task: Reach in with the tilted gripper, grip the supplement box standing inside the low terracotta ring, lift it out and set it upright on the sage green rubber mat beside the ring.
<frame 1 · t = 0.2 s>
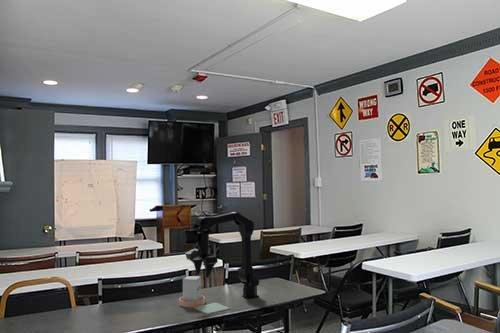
hand: (202, 276, 195), 15 cm above the table, tool pointing down, fingers open, 9 cm apart
terracotta ring: (192, 303, 200), on the table
sage mat: (211, 308, 191), on the table
supplement box: (192, 303, 200), resting in terracotta ring
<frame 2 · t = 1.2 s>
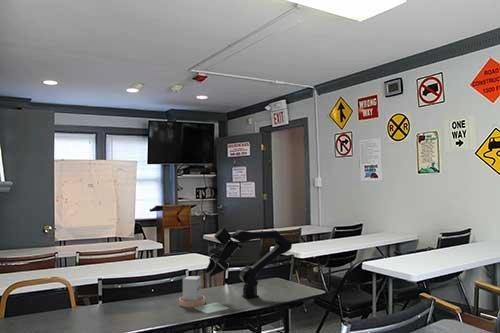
hand: (207, 274, 204), 13 cm above the table, tool tilted 45°, fingers open, 9 cm apart
nothing on the table moved.
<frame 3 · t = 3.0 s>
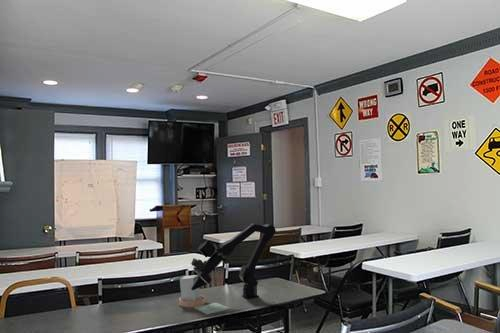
hand: (190, 287, 201), 8 cm above the table, tool tilted 45°, fingers open, 9 cm apart
supplement box: (191, 303, 201), resting in terracotta ring, touching gripper
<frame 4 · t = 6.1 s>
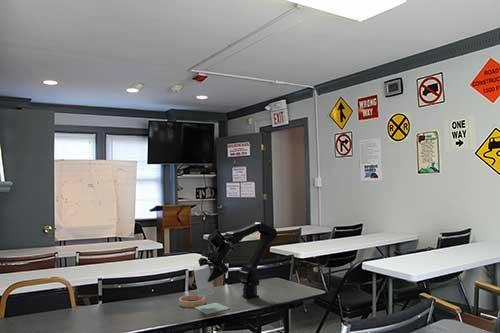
hand: (203, 279, 193), 13 cm above the table, tool tilted 45°, fingers closed on supplement box, 9 cm apart
supplement box: (206, 293, 193), point 6 cm above the table, touching gripper
when the fingers open (8 cm above the table, at t = 8.5 s): supplement box stays where it is, resting on sage mat.
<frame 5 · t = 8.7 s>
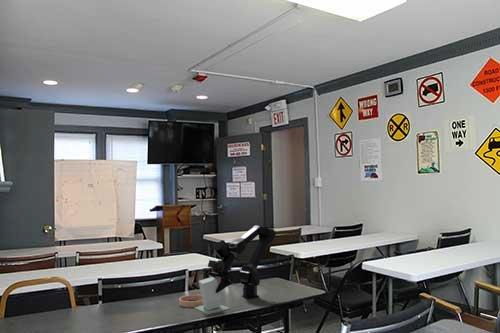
hand: (209, 291, 190), 8 cm above the table, tool tilted 45°, fingers open, 9 cm apart
supplement box: (212, 306, 191), point 1 cm above the table, touching gripper, sage mat
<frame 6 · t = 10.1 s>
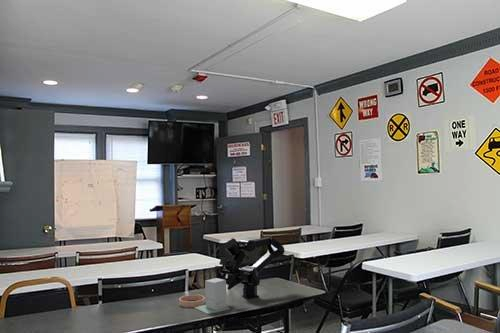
hand: (221, 287, 196), 8 cm above the table, tool tilted 45°, fingers open, 9 cm apart
supplement box: (216, 307, 191), resting on sage mat
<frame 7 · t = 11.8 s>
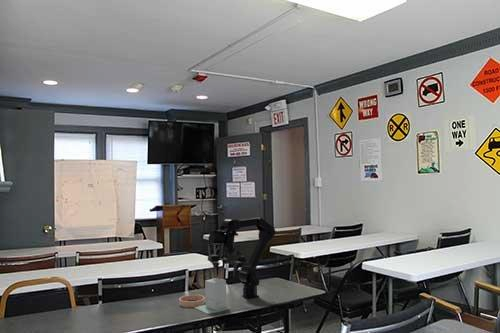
hand: (225, 276, 202), 13 cm above the table, tool pointing down, fingers open, 9 cm apart
nothing on the table moved.
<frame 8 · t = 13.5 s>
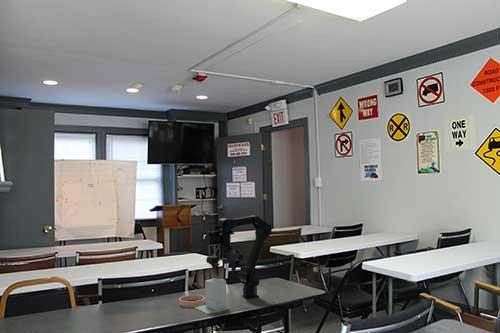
hand: (225, 275, 202), 13 cm above the table, tool pointing down, fingers open, 9 cm apart
nothing on the table moved.
at the end: supplement box inside the target area on the sage mat (2.0 cm from its centre), point 0.3 cm above the sage mat's base; supplement box tilted 0°; the gripper is holding nothing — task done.
